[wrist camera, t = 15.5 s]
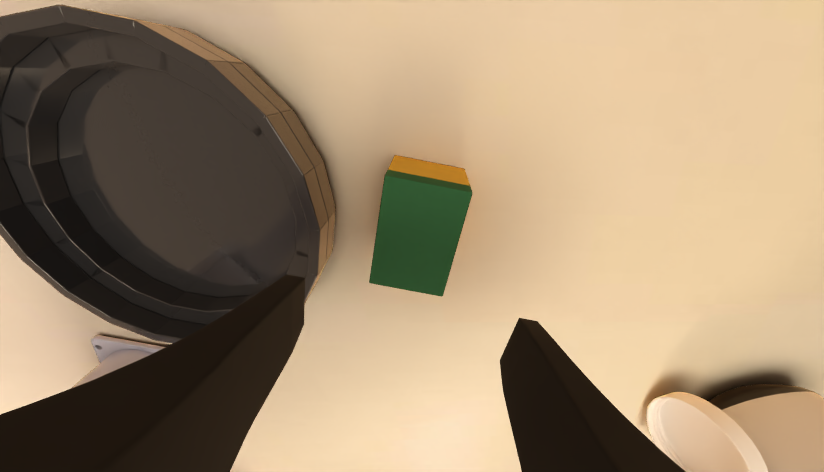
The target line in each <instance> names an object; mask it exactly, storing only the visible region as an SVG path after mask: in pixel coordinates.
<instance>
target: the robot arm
mask: <svg viewBox="0 0 824 472" xmlns="http://www.w3.org/2000/svg"><path fill="white" fill-rule="evenodd" d="M304 302H305V278H304V277H298V276H293V275H288V274H287V275H285V276H283V277H282V278H280V279H279V280H277V281H276V282H274V283H273V284H271V285H270V286H268V287H267V288H265V289H264V290H262V291H261V292H259V293H258V294H256V295H255V296H253V297H252V298H250V299H249V300H247V301H245V302H244V303H242V304H241V305H239V306H238V307H236V308H235V309H233V310H231V311H230V312H228V313H227V314H225V315H223V316H222V317H220V318H218V319H217V320H215V321H213V322H211V323H210V324H208V325H206V326H205V327H203V328H201V329H199V330H198V331H196V332H194V333H192V334H190V335H189V336H187V337H185V338H183V339H181V340H179V341H177V342H175V343H173V344H171V345H169V346H167V347H163V346H157V345H151V344H146V343H140V342H135V341H129V340H123V339H118V338H112V337H107V336H101V335H96V336H94V337H93V338H92V339H91V343H92V345H93V347H94V350H95V352H96V355H97V357H98V359H99V362H100V364H99V365H97V366H96V367H95V368H94V369H93V370H92V371H90V372H89V373H88V374H87V375H86V376H85V377H83V378H82V379H81V380H80V381H79V382H78V383H76V384H75V385H74V386H73V387H72V388H71V389H69V390H66V391H64V392H61V393H59V394H56V395H53V396H50V397H48V398H45V399H42V400H40V401H37V402H34V403H32V404H29V405H26V406H23V407H21V408H18V409H15V410H12V411H9V412H6V413H4V414H1V415H0V472H230V470H231V468H232V466H233V463H234V461H235V459H236V457H237V455H238V452H239V450H240V448H241V446H242V444H243V441H244V439H245V437H246V435H247V433H248V431H249V429H250V427H251V425H252V423H253V421H254V419H255V418H256V416H257V414H258V412H259V411H260V409H261V407H262V405H263V404H264V402H265V400H266V398H267V396H268V395H269V393H270V391H271V389H272V388H273V386H274V384H275V382H276V381H277V379H278V377H279V375H280V373H281V372H282V370H283V368H284V366H285V364H286V363H287V361H288V359H289V357H290V355H291V354H292V352H293V349H294V347H295V345H296V342H297V340H298V337H299V335H300V333H301V330H302V328H303V325H304ZM500 366H501V377H502V385H503V392H504V397H505V401H506V406H507V410H508V414H509V419H510V423H511V427H512V431H513V436H514V440H515V444H516V448H517V452H518V457H519V461H520V465H521V470H522V472H686V471H685V470H683V469H682V468H681V467H680V466H679V465H677V464H676V463H675V462H674V461H673V460H672V459H670V458H669V457H668V456H667V455H666V454H665V453H664V452H662V451H661V450H660V449H659V448H658V447H657V446H656V445H655V444H653V443H652V442H651V441H650V440H649V439H648V438H647V437H646V436H645V435H644V434H643V433H642V432H641V431H639V430H638V429H637V428H636V427H635V426H634V425H633V424H632V423H631V422H630V421H629V420H628V419H627V418H626V417H625V416H624V415H623V414H622V413H621V412H620V411H619V410H618V409H617V408H616V407H615V406H614V405H613V404H612V403H611V402H610V401H609V400H608V399H607V398H606V397H605V396H604V395H603V394H602V393H601V392H600V391H599V390H598V389H597V388H596V387H595V386H594V384H593V383H592V382H591V381H590V380H589V379H588V378H587V377H586V376H585V375H584V374H583V372H582V371H581V370H580V369H579V368H578V367H577V366H576V365H575V364H574V362H573V361H572V360H571V359H570V358H569V357H568V356H567V354H566V353H565V352H564V351H563V350H562V349H561V348H560V346H559V345H558V344H557V343H556V342H555V341H554V339H553V338H552V337H551V336H550V335H549V334H548V333H547V332H546V330H545V329H544V328H543V327H542V326H541V325H540V324H539V323H538V322H537V321H533V320H527V319H522V318H519V320H518V322H517V324H516V326H515V328H514V330H513V333H512V335H511V337H510V339H509V341H508V344H507V346H506V348H505V350H504V352H503V355H502V357H501V359H500Z"/></svg>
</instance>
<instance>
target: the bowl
mask: <svg viewBox="0 0 824 472" xmlns="http://www.w3.org/2000/svg"><path fill="white" fill-rule="evenodd" d="M335 209H336V208H335V204H334V200H333V196H332V192H331V188H330V185H329V181H328V177H327V173H326V169H325V165H324V162H323V159H322V158H321V156H320V154H319V153H318V151H317V149H316V148H315V146H314V144H313V143H312V141H311V139H310V137H309V136H308V134H307V132H306V131H305V129H304V127H303V126H302V124H301V122H300V121H299V119H298V117H297V116H296V114H295V112H294V111H293V110H292V109H291V108H290V107H289V106H288V105H287V104H286V103H285V102H284V101H283V100H282V99H281V98H280V97H279V96H278V95H277V94H276V93H275V92H274V91H273V90H272V89H271V88H270V87H269V86H268V85H267V84H266V83H265V82H264V81H263V80H262V79H261V78H260V77H259V76H258V75H257V74H256V73H255V72H254V71H253V70H252V69H251V68H250V67H248V66H247V65H246V64H245V63H244V62H243V61H241V60H239V59H237V58H235V57H234V56H232V55H230V54H228V53H227V52H225V51H223V50H221V49H219V48H218V47H216V46H214V45H212V44H211V43H209V42H207V41H205V40H203V39H202V38H200V37H198V36H196V35H195V34H193V33H191V32H189V31H187V30H185V29H181V28H176V27H171V26H166V25H161V24H157V23H152V22H147V21H142V20H137V19H133V18H128V17H123V16H118V15H113V14H107V13H102V12H97V11H92V10H87V9H82V8H76V7H71V6H66V5H55V6H50V7H45V8H40V9H35V10H30V11H25V12H20V13H15V14H10V15H5V16H0V235H1V236H2V237H3V238H4V240H5V241H6V242H7V243H8V245H9V246H10V247H11V248H12V249H13V251H14V252H15V253H16V254H17V256H18V257H19V258H21V260H22V261H24V262H25V263H26V264H27V265H28V266H29V267H31V268H32V269H33V270H34V271H35V272H36V273H38V274H39V275H40V276H41V277H42V278H44V279H45V280H46V281H47V282H48V283H49V284H51V285H52V286H53V287H54V288H55V289H56V290H58V291H59V292H60V293H61V294H63V295H64V296H65V297H67V298H69V299H70V300H72V301H74V302H75V303H77V304H79V305H80V306H82V307H84V308H85V309H87V310H89V311H90V312H92V313H94V314H96V315H97V316H99V317H101V318H102V319H104V320H106V321H107V322H109V323H111V324H114V325H117V326H119V327H122V328H124V329H127V330H130V331H132V332H135V333H137V334H140V335H143V336H145V337H148V338H150V339H153V340H157V341H163V342H168V343H175V342H177V341H179V340H181V339H183V338H185V337H187V336H189V335H190V334H192V333H194V332H196V331H198V330H199V329H201V328H203V327H205V326H206V325H208V324H210V323H211V322H213V321H215V320H217V319H218V318H220V317H222V316H223V315H225V314H227V313H228V312H230V311H231V310H233V309H235V308H236V307H238V306H239V305H241V304H242V303H244V302H245V301H247V300H249V299H250V298H252V297H253V296H255V295H256V294H258V293H259V292H261V291H262V290H264V289H265V288H267V287H268V286H270V285H271V284H273V283H274V282H276V281H277V280H279V279H280V278H282V277H283V276H285V275H287V274H288V275H293V276H298V277H304V278H305V302H304V305H305V303H306V301H307V299H308V297H309V296H310V294H311V292H312V290H313V289H314V287H315V285H316V283H317V282H318V280H319V278H320V275H321V273H322V271H323V269H324V267H325V265H326V263H327V261H328V259H329V257H330V255H331V253H332V250H333V239H334V225H335V212H336V210H335Z"/></svg>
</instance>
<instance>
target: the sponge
mask: <svg viewBox="0 0 824 472" xmlns="http://www.w3.org/2000/svg"><path fill="white" fill-rule="evenodd" d="M471 196H472V190H471V187H470V184H469V181H468V178H467V175H466V172H465V169H462V168H457V167H452V166H447V165H442V164H437V163H432V162H427V161H422V160H417V159H412V158H407V157H402V156H397V155H395V156H394V158H393V160H392V162H391V164H390V166H389V168H388V170H387V172H386V174H385V177H384V184H383V191H382V198H381V205H380V212H379V219H378V226H377V233H376V239H375V246H374V253H373V260H372V267H371V274H370V281H369V283H372V284H378V285H383V286H389V287H394V288H399V289H405V290H410V291H415V292H421V293H426V294H431V295H437V296H443V293H444V290H445V286H446V283H447V279H448V276H449V272H450V269H451V265H452V262H453V259H454V255H455V252H456V248H457V245H458V241H459V238H460V234H461V231H462V227H463V224H464V221H465V217H466V214H467V210H468V207H469V203H470V200H471Z"/></svg>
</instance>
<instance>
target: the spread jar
mask: <svg viewBox="0 0 824 472" xmlns="http://www.w3.org/2000/svg"><path fill="white" fill-rule="evenodd" d="M646 420H647V426H648V430H649V433H650V435H651V438H652V440H653V442H654V444H655V445H656V446H657V447H658V448H659V449H660V450H661V451H662V452H664V453H665V454H666V455H667V456H668V457H669V458H670V459H672V460H673V461H674V462H675V463H676V464H677V465H679V466H680V467H681V468H682V469H683V470H685V471H686V472H824V398H823V397H822V396H820V395H818V394H817V393H815V392H813V391H810V390H808V389H805V388H802V387H797V386H792V385H781V384H752V385H746V386H741V387H737V388H734V389H731V390H728V391H726V392H723V393H721V394H719V395H718V396H716V397H714V398H713V399H711V400H710V401H706V400H704V399H702V398H700V397H698V396H695V395H692V394H689V393H685V392H672V393H669V394H666V395H663V396H660V397H657V398H655V399H653V400H652V401H651V402H650V403H649V405H648V407H647V412H646Z"/></svg>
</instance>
